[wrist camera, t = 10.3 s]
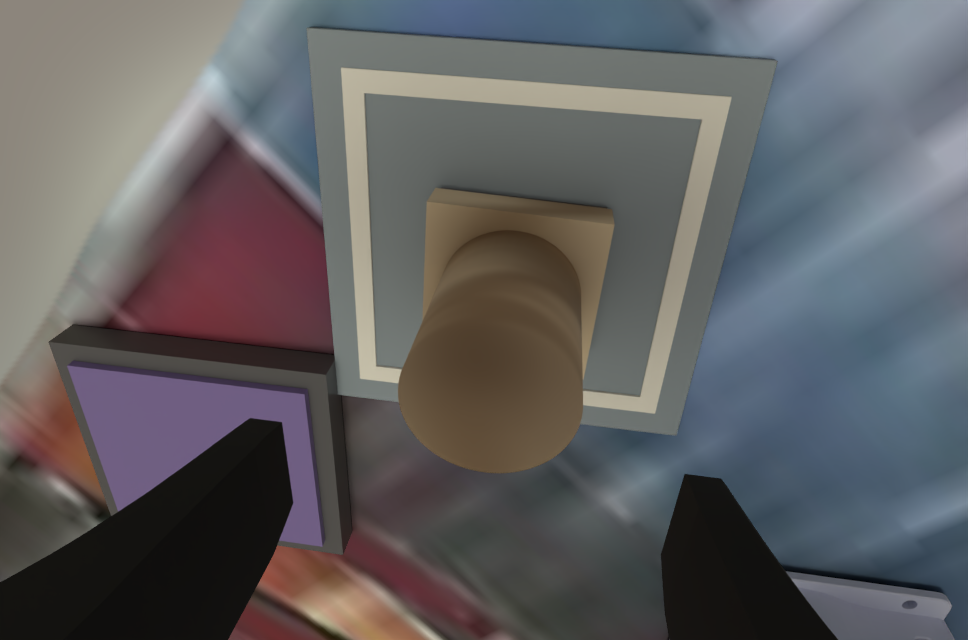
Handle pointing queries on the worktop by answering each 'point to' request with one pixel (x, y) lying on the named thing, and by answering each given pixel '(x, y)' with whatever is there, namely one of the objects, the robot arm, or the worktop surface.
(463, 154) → the card
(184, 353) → the ink pad
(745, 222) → the worktop surface
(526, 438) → the stamp
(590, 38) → the worktop surface
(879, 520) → the worktop surface
